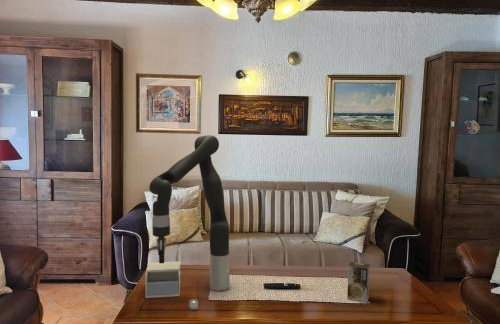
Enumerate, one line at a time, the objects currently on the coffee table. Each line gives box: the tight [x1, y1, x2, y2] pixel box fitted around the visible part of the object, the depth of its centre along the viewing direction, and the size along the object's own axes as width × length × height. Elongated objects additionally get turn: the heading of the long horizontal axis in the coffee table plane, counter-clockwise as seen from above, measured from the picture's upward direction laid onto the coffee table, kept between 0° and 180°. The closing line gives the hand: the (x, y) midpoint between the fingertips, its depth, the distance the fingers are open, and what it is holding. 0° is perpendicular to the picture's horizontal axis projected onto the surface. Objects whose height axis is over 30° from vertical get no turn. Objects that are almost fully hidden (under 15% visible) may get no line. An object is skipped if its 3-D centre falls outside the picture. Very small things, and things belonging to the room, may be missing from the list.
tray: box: [147, 278, 179, 296], centre depth 186 cm, size 14×14×6 cm
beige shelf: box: [144, 261, 181, 299], centre depth 187 cm, size 16×15×12 cm
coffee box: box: [346, 261, 371, 303], centre depth 180 cm, size 9×6×16 cm
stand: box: [189, 298, 199, 312], centre depth 169 cm, size 4×4×4 cm
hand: (161, 262), depth 172 cm, fingers closed
